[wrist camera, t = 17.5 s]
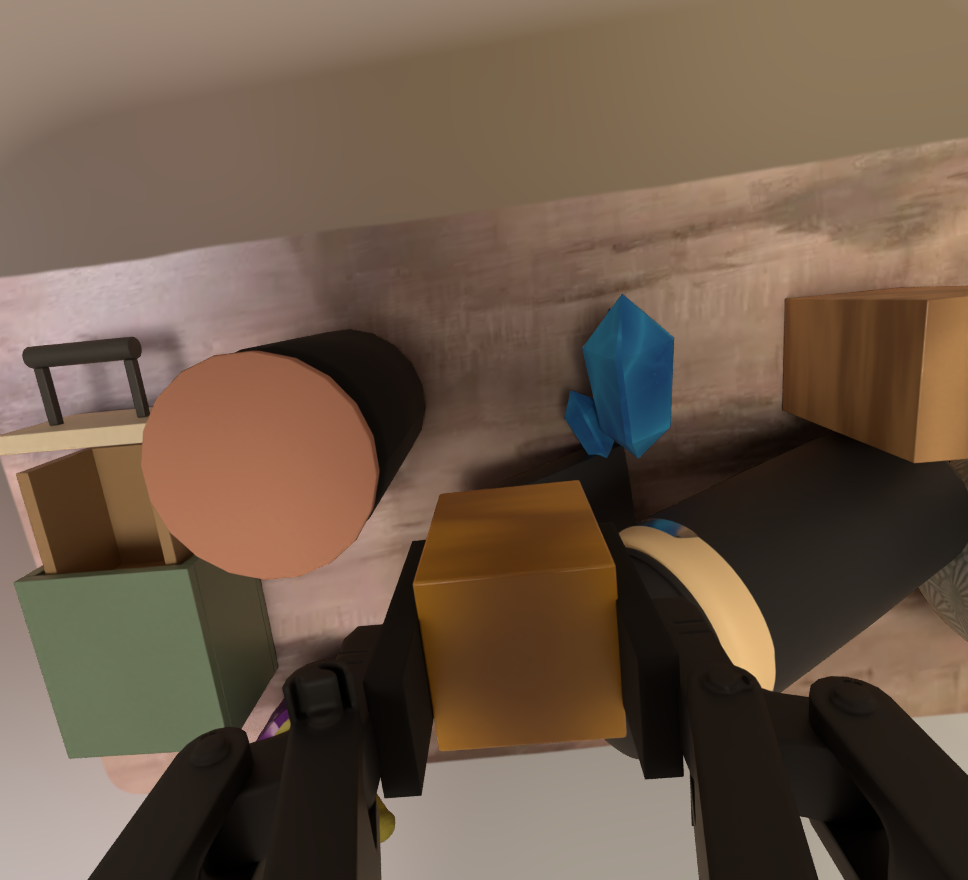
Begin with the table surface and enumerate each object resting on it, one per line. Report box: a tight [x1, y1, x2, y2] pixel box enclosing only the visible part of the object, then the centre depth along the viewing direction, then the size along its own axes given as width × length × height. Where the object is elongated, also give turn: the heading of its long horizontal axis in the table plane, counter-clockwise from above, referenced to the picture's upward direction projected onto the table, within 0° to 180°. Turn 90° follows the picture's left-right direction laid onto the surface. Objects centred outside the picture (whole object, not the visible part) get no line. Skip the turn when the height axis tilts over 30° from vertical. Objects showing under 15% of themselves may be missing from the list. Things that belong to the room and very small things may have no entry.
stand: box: [783, 286, 968, 463], centre depth 35 cm, size 8×8×14 cm
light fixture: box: [482, 431, 968, 759], centre depth 37 cm, size 13×18×26 cm
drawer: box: [0, 337, 194, 575], centre depth 40 cm, size 18×10×7 cm, turn 6°
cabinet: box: [14, 554, 278, 759], centre depth 43 cm, size 14×12×9 cm
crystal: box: [564, 294, 674, 459], centre depth 38 cm, size 7×9×12 cm
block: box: [413, 480, 627, 751], centre depth 16 cm, size 4×4×6 cm
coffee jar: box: [141, 329, 425, 580], centre depth 35 cm, size 11×11×18 cm
